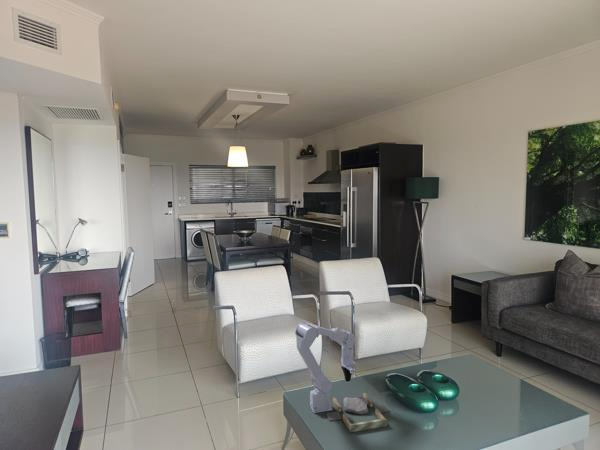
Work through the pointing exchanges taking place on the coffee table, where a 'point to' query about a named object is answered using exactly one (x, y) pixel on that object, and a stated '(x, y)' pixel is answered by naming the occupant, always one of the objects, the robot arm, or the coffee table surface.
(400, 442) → the coffee table surface
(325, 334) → the robot arm
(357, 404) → the stone block
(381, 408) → the trap pits
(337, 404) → the tan u-shaped piece
